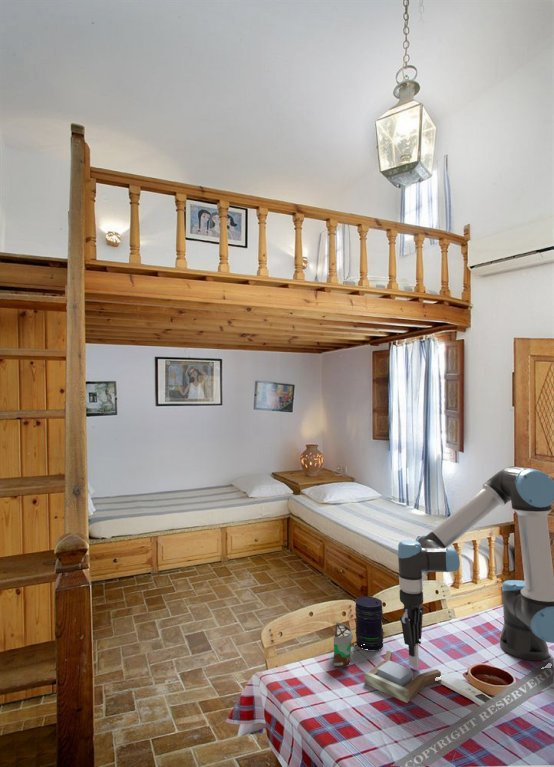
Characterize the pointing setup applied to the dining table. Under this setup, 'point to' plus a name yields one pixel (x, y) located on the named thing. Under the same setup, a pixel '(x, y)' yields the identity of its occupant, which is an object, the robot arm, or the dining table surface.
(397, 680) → the grey rectangular block
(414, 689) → the brown angular open frame
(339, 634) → the food container
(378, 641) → the storage jar
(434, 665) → the dining table surface
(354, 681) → the dining table surface
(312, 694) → the dining table surface
